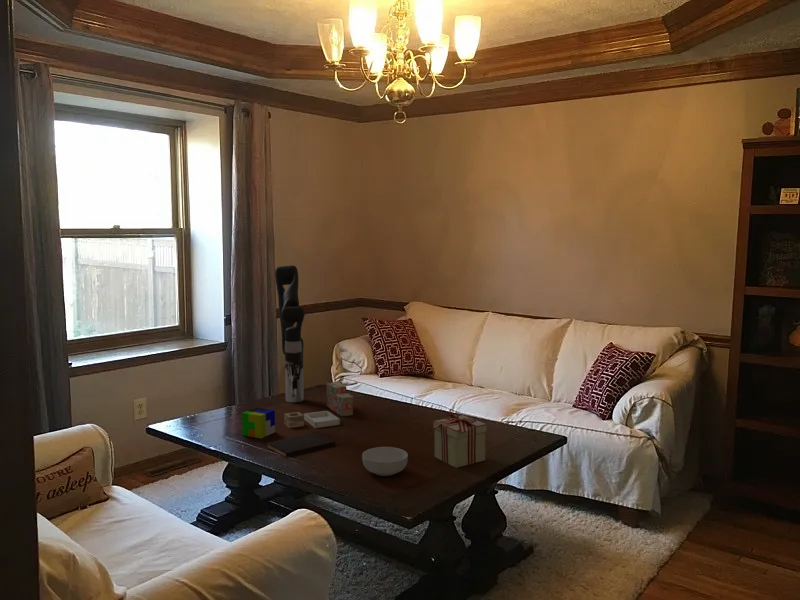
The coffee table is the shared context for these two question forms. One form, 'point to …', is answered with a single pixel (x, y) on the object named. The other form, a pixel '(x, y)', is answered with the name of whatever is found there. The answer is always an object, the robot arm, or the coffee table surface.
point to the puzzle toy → (258, 422)
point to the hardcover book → (300, 444)
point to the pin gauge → (293, 390)
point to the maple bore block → (294, 419)
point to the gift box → (459, 440)
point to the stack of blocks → (339, 399)
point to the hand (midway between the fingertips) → (293, 387)
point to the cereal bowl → (385, 460)
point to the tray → (321, 419)
